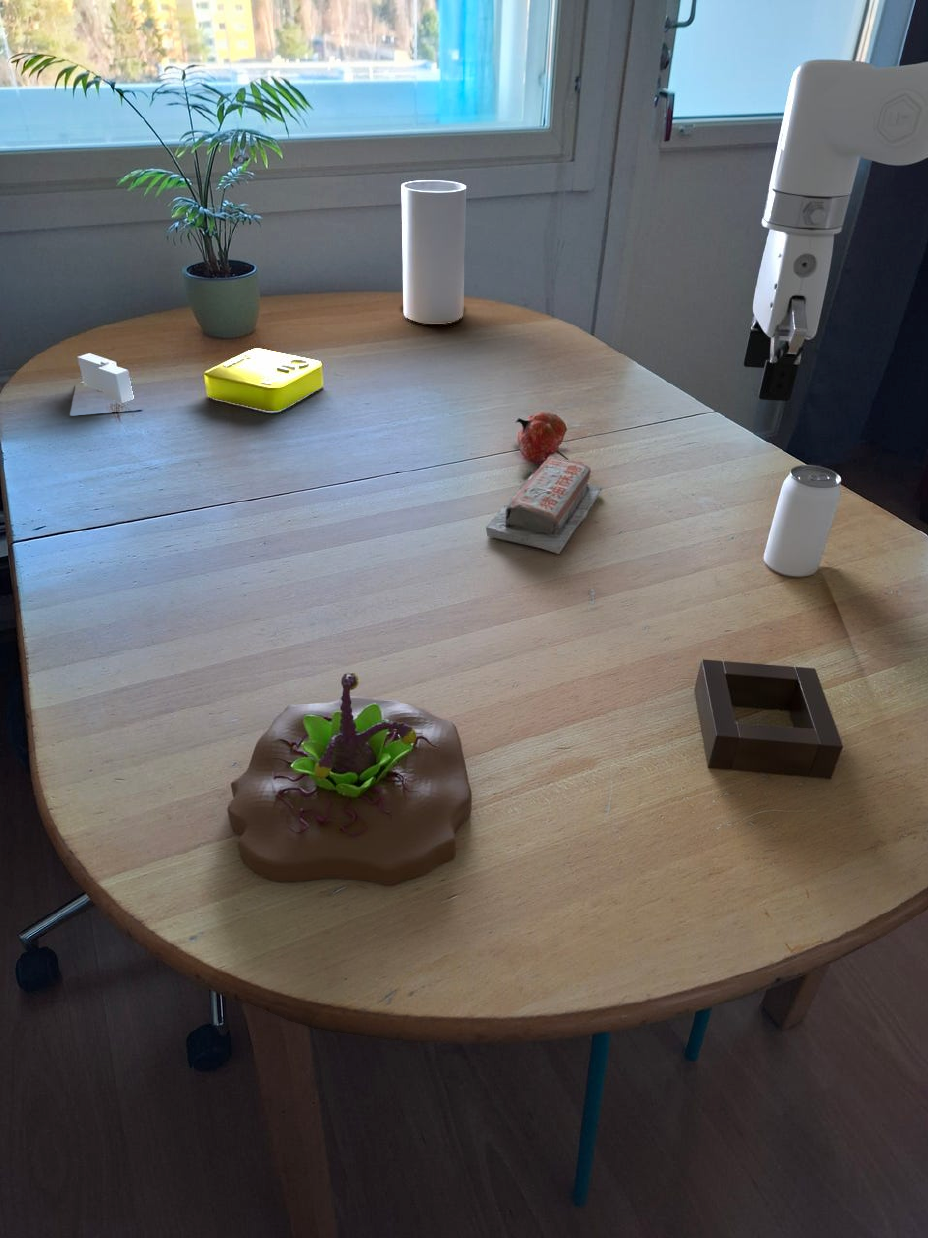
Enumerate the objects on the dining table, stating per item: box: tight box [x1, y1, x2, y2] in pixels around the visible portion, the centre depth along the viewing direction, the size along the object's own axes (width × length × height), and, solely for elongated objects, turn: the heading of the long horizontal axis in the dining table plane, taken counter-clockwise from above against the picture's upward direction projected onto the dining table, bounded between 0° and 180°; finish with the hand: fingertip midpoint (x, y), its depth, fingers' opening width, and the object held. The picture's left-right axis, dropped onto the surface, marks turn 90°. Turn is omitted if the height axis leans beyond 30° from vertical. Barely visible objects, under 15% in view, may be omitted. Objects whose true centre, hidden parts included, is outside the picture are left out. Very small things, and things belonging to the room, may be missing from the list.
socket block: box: [694, 658, 844, 780], centre depth 81 cm, size 11×11×4 cm
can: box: [763, 464, 842, 579], centre depth 103 cm, size 6×6×12 cm
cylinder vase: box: [401, 179, 467, 323], centre depth 176 cm, size 12×12×25 cm
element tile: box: [203, 348, 324, 411], centre depth 146 cm, size 15×15×5 cm
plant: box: [227, 672, 473, 886], centre depth 71 cm, size 20×20×11 cm
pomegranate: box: [515, 411, 570, 465], centre depth 127 cm, size 7×7×10 cm
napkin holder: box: [77, 352, 134, 403], centre depth 142 cm, size 15×11×6 cm
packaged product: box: [485, 456, 603, 555], centre depth 114 cm, size 18×5×10 cm
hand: (765, 382), depth 95 cm, fingers open, 9 cm apart
